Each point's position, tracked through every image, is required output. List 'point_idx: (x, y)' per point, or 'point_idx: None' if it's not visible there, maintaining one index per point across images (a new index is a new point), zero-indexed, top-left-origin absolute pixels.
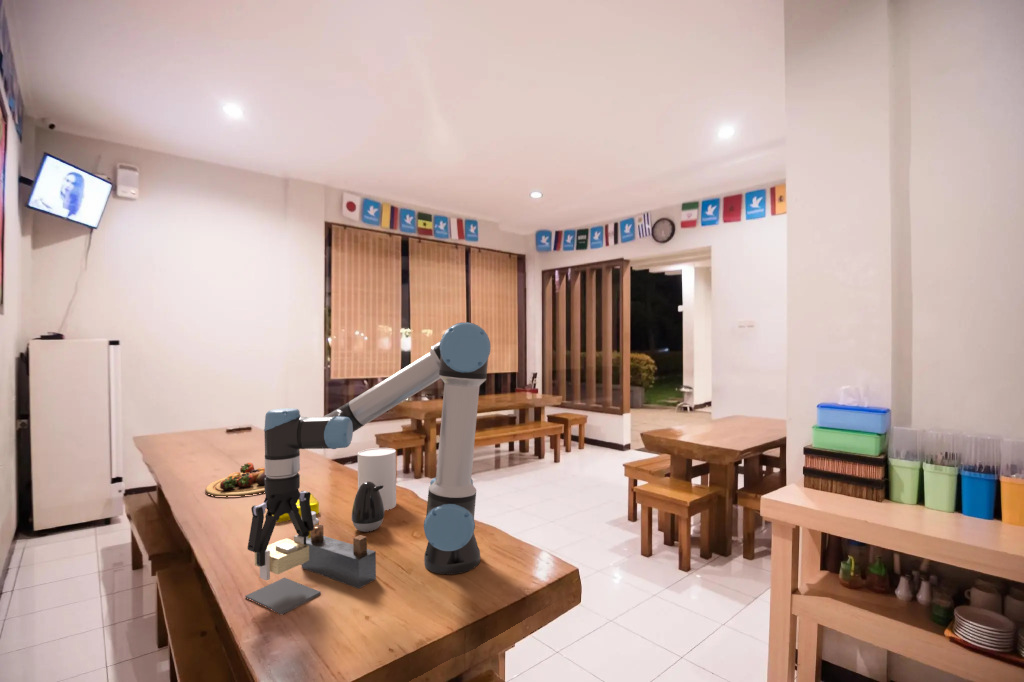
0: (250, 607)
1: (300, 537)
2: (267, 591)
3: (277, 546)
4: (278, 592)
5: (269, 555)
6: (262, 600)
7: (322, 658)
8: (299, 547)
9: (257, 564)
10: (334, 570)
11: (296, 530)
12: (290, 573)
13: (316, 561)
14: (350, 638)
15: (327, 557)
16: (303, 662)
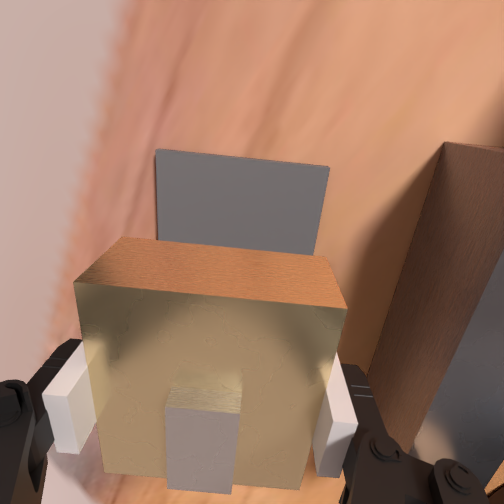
0: (136, 223)
1: (325, 468)
2: (218, 202)
3: (166, 420)
4: (232, 245)
5: (93, 423)
6: (170, 240)
7: (120, 487)
8: (259, 469)
9: (65, 346)
10: (394, 352)
11: (354, 476)
12: (384, 138)
13: (434, 263)
14: (186, 492)
15: (426, 349)
16: (93, 472)
